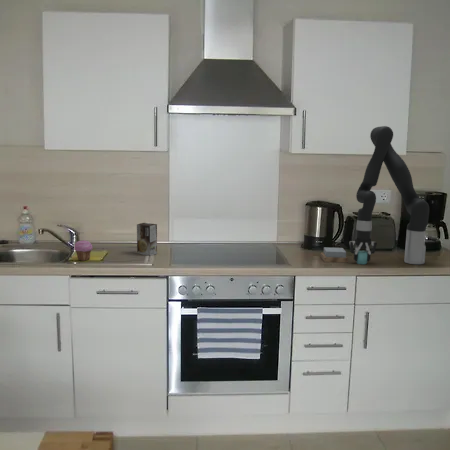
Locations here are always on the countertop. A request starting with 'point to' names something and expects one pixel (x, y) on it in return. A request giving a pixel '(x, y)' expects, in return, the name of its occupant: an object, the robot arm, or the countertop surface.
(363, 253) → the teal cylinder
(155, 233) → the coffee box
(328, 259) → the bottom block
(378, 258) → the countertop surface
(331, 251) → the top block
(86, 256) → the cupcake
